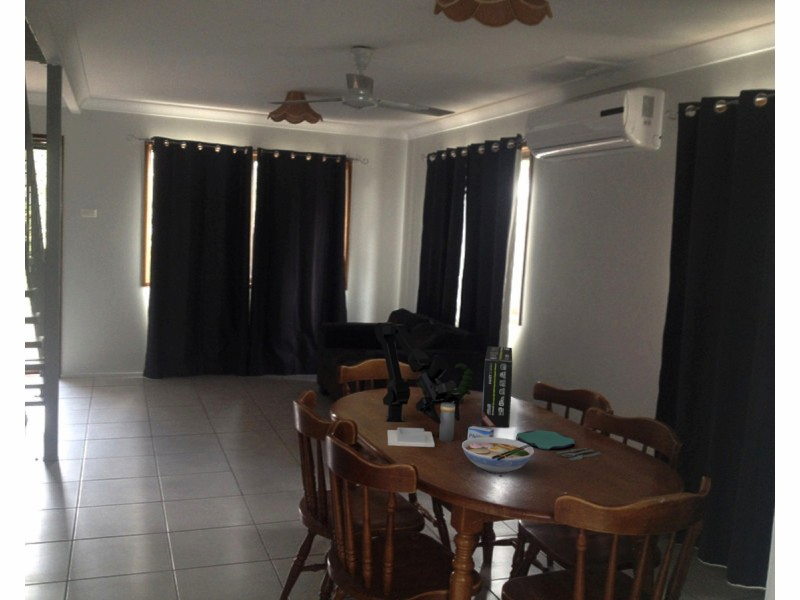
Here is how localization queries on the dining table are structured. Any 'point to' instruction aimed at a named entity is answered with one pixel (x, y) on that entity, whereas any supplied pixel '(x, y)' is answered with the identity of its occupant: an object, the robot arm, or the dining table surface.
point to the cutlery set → (552, 442)
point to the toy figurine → (463, 386)
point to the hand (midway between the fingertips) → (449, 422)
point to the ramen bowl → (497, 453)
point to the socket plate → (410, 437)
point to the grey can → (447, 421)
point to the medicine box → (479, 432)
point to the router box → (497, 387)
